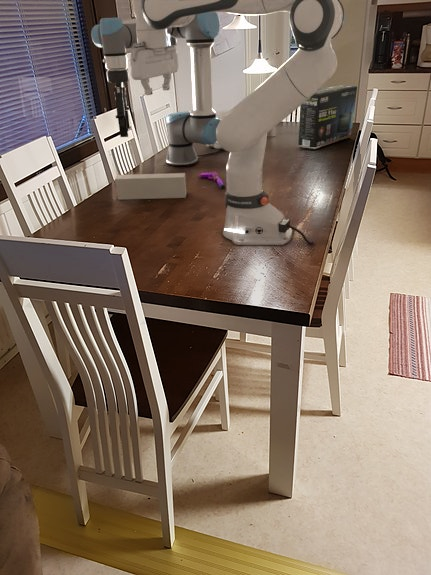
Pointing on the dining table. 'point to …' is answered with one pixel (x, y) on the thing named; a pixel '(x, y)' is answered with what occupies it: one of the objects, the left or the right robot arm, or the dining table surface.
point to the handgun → (213, 176)
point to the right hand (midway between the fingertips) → (157, 92)
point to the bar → (151, 186)
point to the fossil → (214, 145)
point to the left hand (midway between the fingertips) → (125, 132)
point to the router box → (327, 115)
